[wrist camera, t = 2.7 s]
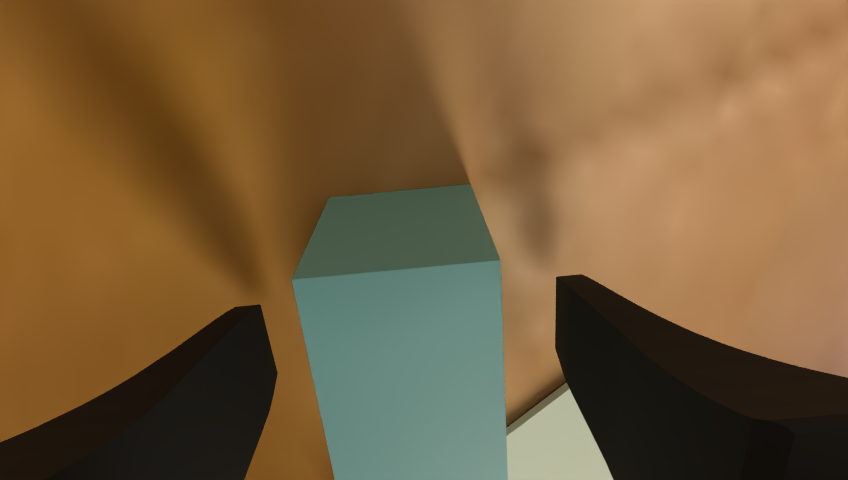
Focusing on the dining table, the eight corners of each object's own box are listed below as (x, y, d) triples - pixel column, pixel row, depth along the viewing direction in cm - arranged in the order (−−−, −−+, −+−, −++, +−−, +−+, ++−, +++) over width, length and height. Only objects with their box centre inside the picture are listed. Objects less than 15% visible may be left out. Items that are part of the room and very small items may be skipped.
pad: (529, 569, 18) (531, 578, 18) (419, 493, 16) (419, 501, 16) (721, 444, 16) (727, 451, 16) (617, 343, 14) (621, 349, 14)
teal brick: (480, 378, 15) (508, 514, 11) (362, 389, 15) (345, 529, 11) (469, 182, 13) (500, 260, 8) (329, 196, 13) (291, 280, 8)
